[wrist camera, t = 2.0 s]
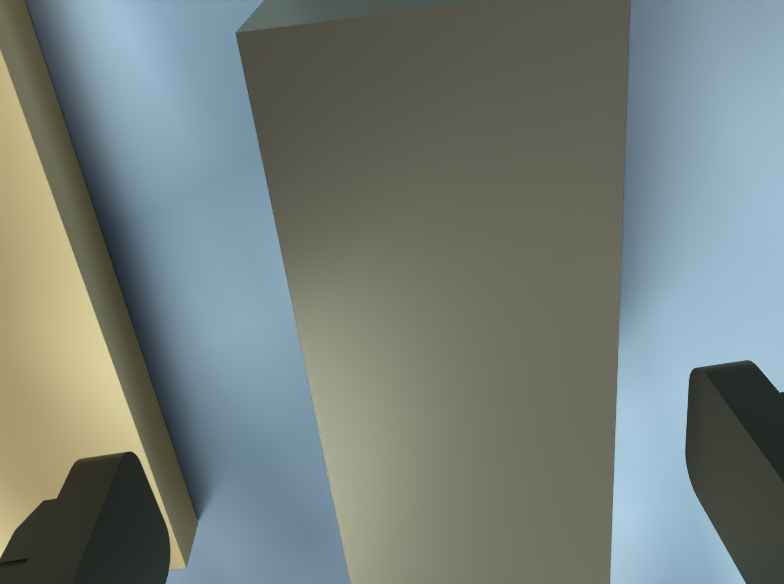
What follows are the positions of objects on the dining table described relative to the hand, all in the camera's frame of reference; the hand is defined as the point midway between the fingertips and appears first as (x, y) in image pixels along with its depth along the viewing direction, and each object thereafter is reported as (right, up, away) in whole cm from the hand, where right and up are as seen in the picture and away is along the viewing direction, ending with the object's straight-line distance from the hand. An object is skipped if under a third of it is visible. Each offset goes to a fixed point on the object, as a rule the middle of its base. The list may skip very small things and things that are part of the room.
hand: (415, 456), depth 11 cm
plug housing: (+1, +4, +5) cm, 6 cm away
